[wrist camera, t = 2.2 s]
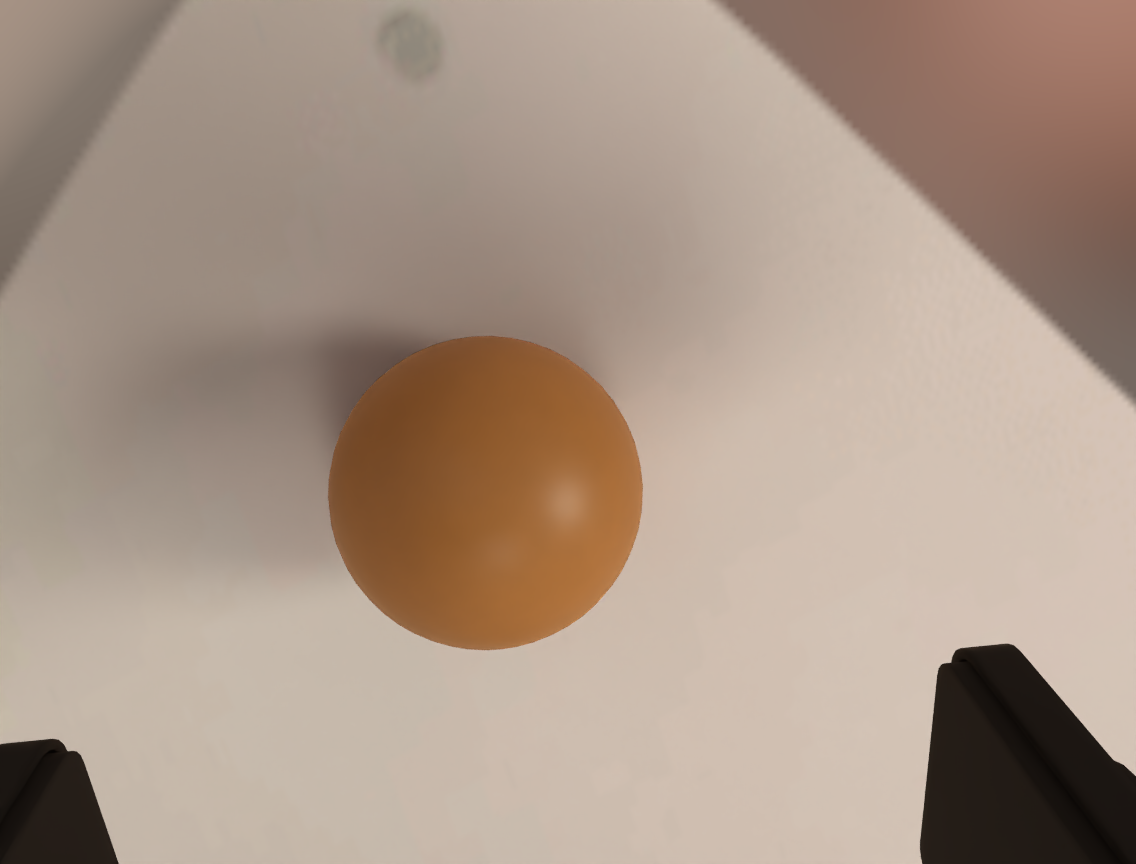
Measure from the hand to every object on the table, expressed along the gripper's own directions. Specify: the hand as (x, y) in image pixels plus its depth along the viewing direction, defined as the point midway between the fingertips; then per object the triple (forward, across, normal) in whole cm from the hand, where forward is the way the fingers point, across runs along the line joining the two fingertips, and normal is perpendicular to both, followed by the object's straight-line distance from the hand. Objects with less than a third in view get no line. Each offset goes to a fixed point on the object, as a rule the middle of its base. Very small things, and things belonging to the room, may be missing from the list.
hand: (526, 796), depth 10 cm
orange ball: (+10, 0, 0) cm, 10 cm away
